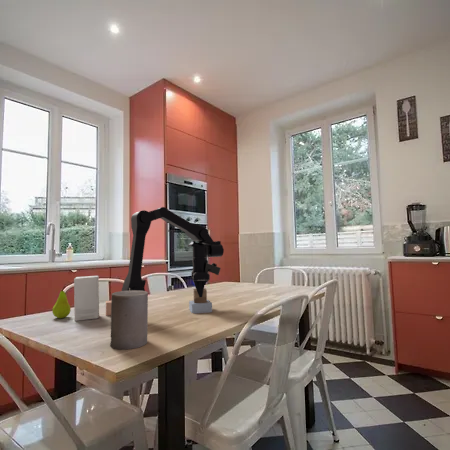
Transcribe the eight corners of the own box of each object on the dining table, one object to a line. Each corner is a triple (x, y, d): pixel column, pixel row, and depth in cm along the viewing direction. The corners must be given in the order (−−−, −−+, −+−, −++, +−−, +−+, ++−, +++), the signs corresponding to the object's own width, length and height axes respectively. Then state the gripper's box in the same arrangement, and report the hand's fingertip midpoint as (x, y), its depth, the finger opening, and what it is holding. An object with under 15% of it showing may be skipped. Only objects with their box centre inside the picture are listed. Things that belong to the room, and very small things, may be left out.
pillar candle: (102, 347, 80) (103, 289, 81) (127, 336, 89) (128, 284, 90) (131, 352, 76) (132, 291, 77) (155, 340, 85) (155, 286, 86)
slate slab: (212, 313, 122) (211, 302, 122) (192, 314, 120) (192, 304, 120) (208, 309, 129) (207, 299, 130) (189, 310, 127) (189, 300, 128)
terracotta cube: (119, 314, 121) (119, 301, 121) (105, 315, 119) (106, 302, 119) (118, 312, 125) (118, 299, 126) (105, 313, 123) (105, 301, 124)
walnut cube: (206, 302, 123) (206, 290, 123) (194, 303, 122) (194, 290, 122) (205, 300, 128) (205, 288, 128) (193, 301, 127) (193, 288, 127)
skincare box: (99, 315, 119) (99, 275, 121) (98, 319, 113) (98, 276, 114) (75, 317, 117) (76, 276, 118) (73, 321, 110) (73, 277, 112)
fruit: (48, 319, 115) (49, 286, 116) (63, 315, 121) (64, 284, 121) (59, 320, 112) (59, 287, 113) (74, 317, 118) (74, 285, 119)
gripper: (222, 257, 118) (222, 298, 117) (216, 256, 137) (216, 291, 135) (193, 258, 116) (193, 300, 115) (191, 257, 135) (191, 293, 134)
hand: (200, 295), depth 125 cm, fingers open, 6 cm apart
